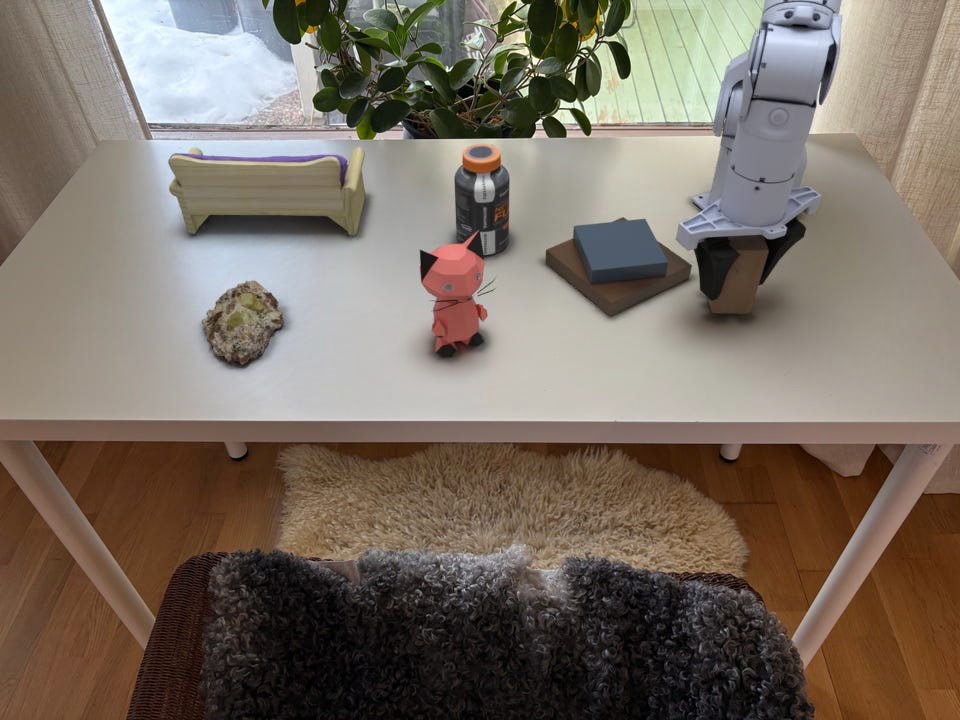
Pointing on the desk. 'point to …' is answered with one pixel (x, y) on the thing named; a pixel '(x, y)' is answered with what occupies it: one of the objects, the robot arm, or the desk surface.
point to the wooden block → (742, 275)
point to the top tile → (619, 251)
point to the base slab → (618, 292)
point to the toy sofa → (269, 186)
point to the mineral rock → (242, 322)
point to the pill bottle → (482, 198)
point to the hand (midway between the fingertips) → (731, 286)
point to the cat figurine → (455, 292)
